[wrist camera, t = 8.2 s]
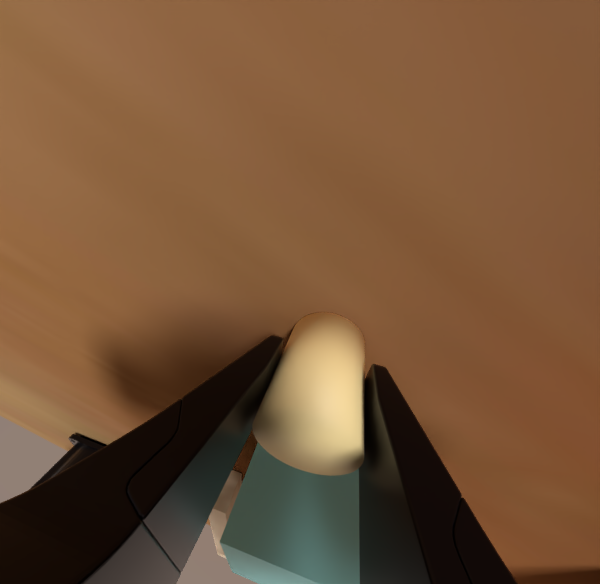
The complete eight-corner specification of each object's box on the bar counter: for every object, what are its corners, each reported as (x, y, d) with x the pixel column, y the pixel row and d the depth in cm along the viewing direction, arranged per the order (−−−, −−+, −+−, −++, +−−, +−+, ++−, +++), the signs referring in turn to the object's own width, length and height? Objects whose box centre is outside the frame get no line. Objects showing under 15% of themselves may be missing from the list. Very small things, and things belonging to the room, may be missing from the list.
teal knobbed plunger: (265, 471, 17) (232, 572, 13) (257, 298, 9) (165, 417, 5) (345, 498, 16) (337, 618, 12) (416, 329, 8) (470, 514, 4)
